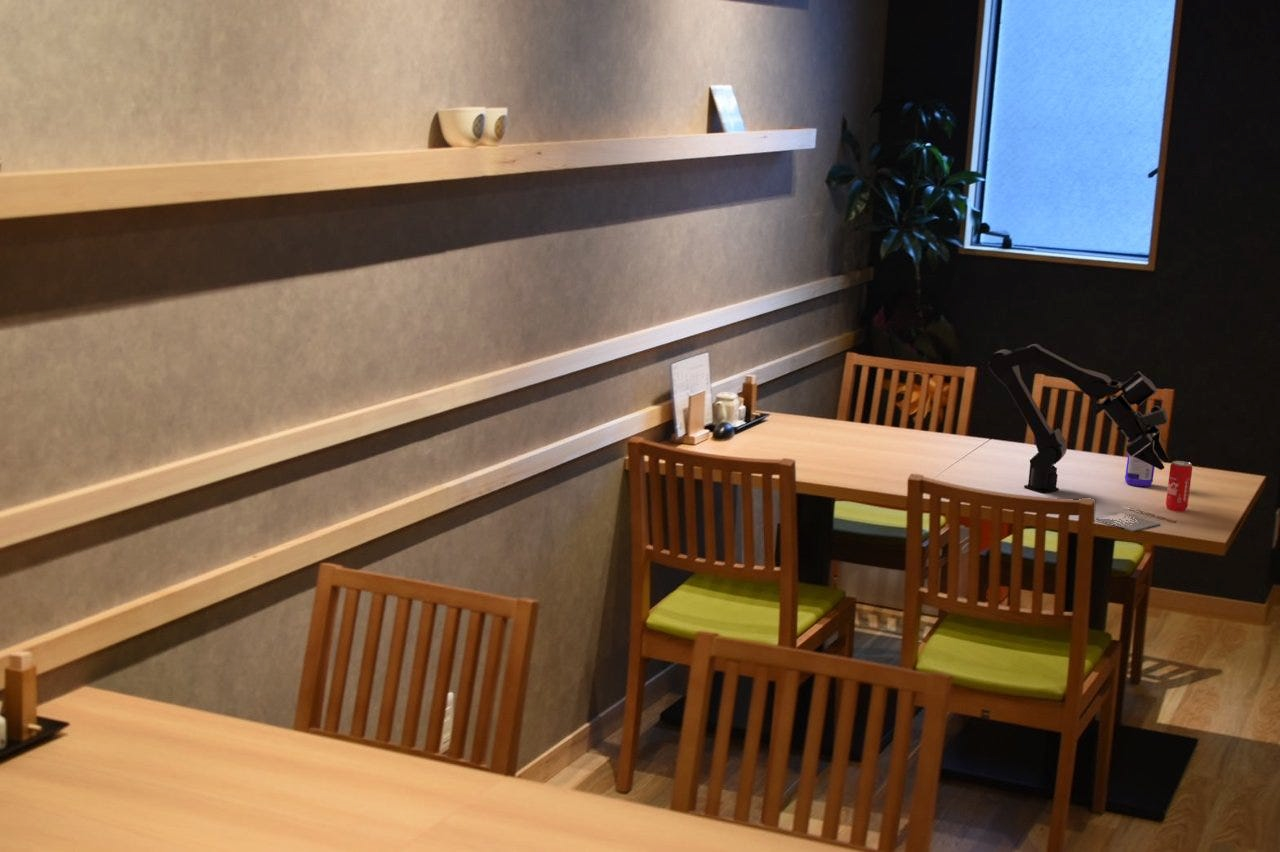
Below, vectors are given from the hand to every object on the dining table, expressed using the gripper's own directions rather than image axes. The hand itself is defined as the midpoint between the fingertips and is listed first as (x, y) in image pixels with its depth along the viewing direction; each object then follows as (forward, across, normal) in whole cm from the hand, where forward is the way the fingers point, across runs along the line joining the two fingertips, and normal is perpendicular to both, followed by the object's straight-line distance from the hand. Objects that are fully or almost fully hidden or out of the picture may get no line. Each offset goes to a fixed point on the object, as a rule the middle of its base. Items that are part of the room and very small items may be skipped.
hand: (1165, 465), depth 382 cm
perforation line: (+7, -10, +9) cm, 15 cm away
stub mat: (+4, -20, +12) cm, 23 cm away
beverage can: (+10, 0, +5) cm, 12 cm away
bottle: (+2, +21, +14) cm, 25 cm away
